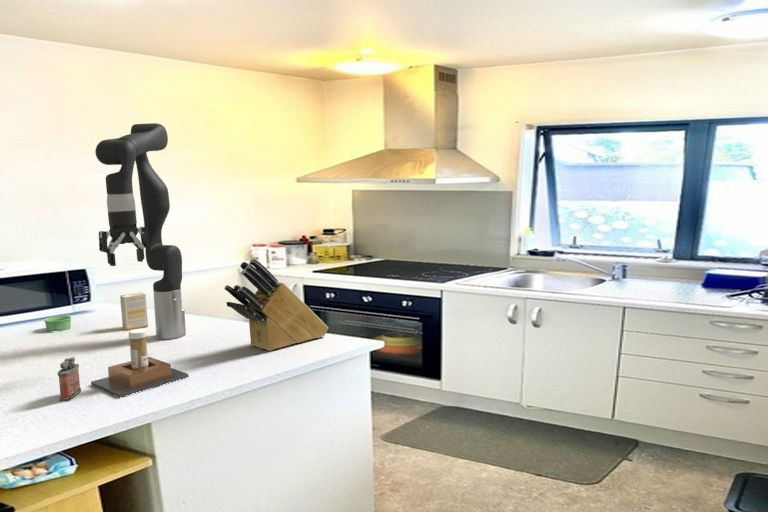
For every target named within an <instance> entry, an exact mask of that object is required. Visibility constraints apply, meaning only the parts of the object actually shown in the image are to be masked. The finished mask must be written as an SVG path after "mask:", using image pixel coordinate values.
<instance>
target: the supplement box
mask: <svg viewBox="0 0 768 512" xmlns="http://www.w3.org/2000/svg"><path fill="white" fill-rule="evenodd" d="M146 295H147V294H146V293H144V292H135V293H129V294H122V295H120V296H119V298H120V299H119V300H120V311H121V321H122V329H124V330H126V331H131V330H135V329H144V328H147V327H149V320H148V319H149V317H148V307H147V296H146Z"/></svg>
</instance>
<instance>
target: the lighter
mask: <svg viewBox="0 0 768 512" xmlns="http://www.w3.org/2000/svg"><path fill="white" fill-rule="evenodd" d="M75 360H76V359H75V357H67V358H64V360H63V361H62V362H61V363H60V364H59V366H60V370H58V371H57V376H58V382H59V394H60V396H59V401H60V402H61V401H66V402H70V401H72V400H74V399H75V398H77V397H78V396H80V394H81V393H80V392H82V388H81V383H80V382H81V381H80V371H79V368H80V364H79V363H75V362H76V361H75ZM79 393H80V394H79ZM77 395H78V396H77ZM76 396H77V397H76ZM73 398H74V399H73ZM71 399H72V400H71ZM69 400H70V401H69Z"/></svg>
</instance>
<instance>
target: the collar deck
mask: <svg viewBox="0 0 768 512" xmlns="http://www.w3.org/2000/svg"><path fill="white" fill-rule="evenodd" d="M107 373H108V374H107V375H108V376H106V377H103V378H100V379H96V380H91V381H90V385H91V386H92V387H94V386H95V387H94V388H96V387H97V388H96V389H98V388H99V389H98V390H101V391H103V390H104V391H103V392H105V391H106V392H105V393H107V392H108V393H107V394H109V393H110V395H111V394H112V396H114V395H115V396H114V397H116V396H117V397H116V398H118V397H119V398H118V399H121V398H120V397H122V398H124V397H123V396H125V397H127V396H126V395H129V396H131V395H130V394H132V393H135V394H137V393H136V392H138V393H140V392H139V391H142V392H144V391H143V390H145V391H147V390H146V389H148V390H150V389H149V388H152V389H154V388H153V387H155V388H158V387H161V386H160V385H162V386H164V385H163V384H165V385H167V384H166V383H168V384H170V383H169V382H171V383H174V382H173V381H175V382H177V381H176V380H178V381H180V380H179V379H181V380H184V379H183V378H185V379H187V378H186V377H188V378H189V373H187V372H184V371H181V370H178V369H175V368H173V367H172V364H171V363H168V362H166V361H163V360H160V359H157V358H155V357H154V358H153V357H151V356H148V368H144V369H141V370H137V371H132V366H131V360H129V361H126V362H122V363H117V364H114V365H110V366H107ZM157 386H158V387H157ZM132 395H133V394H132Z"/></svg>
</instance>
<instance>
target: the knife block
mask: <svg viewBox="0 0 768 512" xmlns="http://www.w3.org/2000/svg"><path fill="white" fill-rule="evenodd" d="M240 268H241V269H242V271H241V275H243V276H244V277H245V278H246V279H247V281H249V282H250V284H251V285H253V286H254V287H255V288H256V292H255V293H254V292H253V291H252V290H251V289H249V288H247V287H246V286H240V285H236V284H235V285H234V286H233V287H232V286H230V285H228V284H226V285H225V286H224V288H223V290H225V291H227V292H228V293H229V294H230V295H231V296H232V297H233V298H234V299H236V301H238V302H239V303H237V302H232V301H226V306H227V307H228V308H231V309H233V310H234V311H235V312H236V313H238V314H239V315H241V316H242V317H244V318H245V319H247V320H248V322H249V323H248V325H249V337H250V345H251V346H253V347H255V346H256V347H257V348H259V349H263V350H266V351H268V352H271V351H273V350H275V349H281V348H283V347H288V346H290V345H293V344H296V343H302V342H303V343H304V342H306V341H309V340H313V339H320V338H321V337H324V336H326V334H327V332H328V330H329V326H327V324H326V323H325V322H324V321H323V320H322V319H321V318H320V317H319V316H318V315H317V314H315V312H314V311H313V310H312V309H311V308H310V307H309V305H307V304H306V303H305V302H304V301H302V299H300V297H298V295H297V294H296V293H295V292H294V291H293V290H292V289H291V288H289V286H287V285H286V283H284V282H279V281H278V279H277V278H276V277H275V276H274V275H273V274H272V273H271V271H269V270H268V269H267V268H266V267H265V266H264V265H263V264H262V263H261V262H260V261H259V260H257V259H255V258H254V257H253V258H251V259H250V261H249V263H247V261H243V262H242V263H241V264H240Z"/></svg>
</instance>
